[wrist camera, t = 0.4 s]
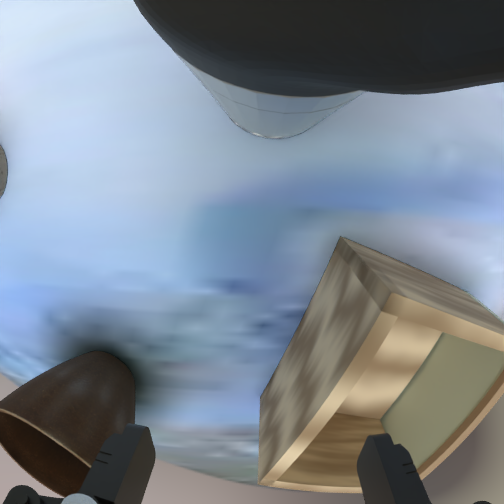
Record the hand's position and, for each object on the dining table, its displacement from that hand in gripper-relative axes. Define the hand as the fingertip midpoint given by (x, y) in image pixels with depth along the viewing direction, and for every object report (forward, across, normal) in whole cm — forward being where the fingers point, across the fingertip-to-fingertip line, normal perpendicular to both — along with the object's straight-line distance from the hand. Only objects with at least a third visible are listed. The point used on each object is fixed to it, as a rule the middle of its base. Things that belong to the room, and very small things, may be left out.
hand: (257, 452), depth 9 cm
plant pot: (+20, +18, +14) cm, 30 cm away
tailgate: (+19, -20, +11) cm, 30 cm away
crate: (+20, -11, +8) cm, 24 cm away
